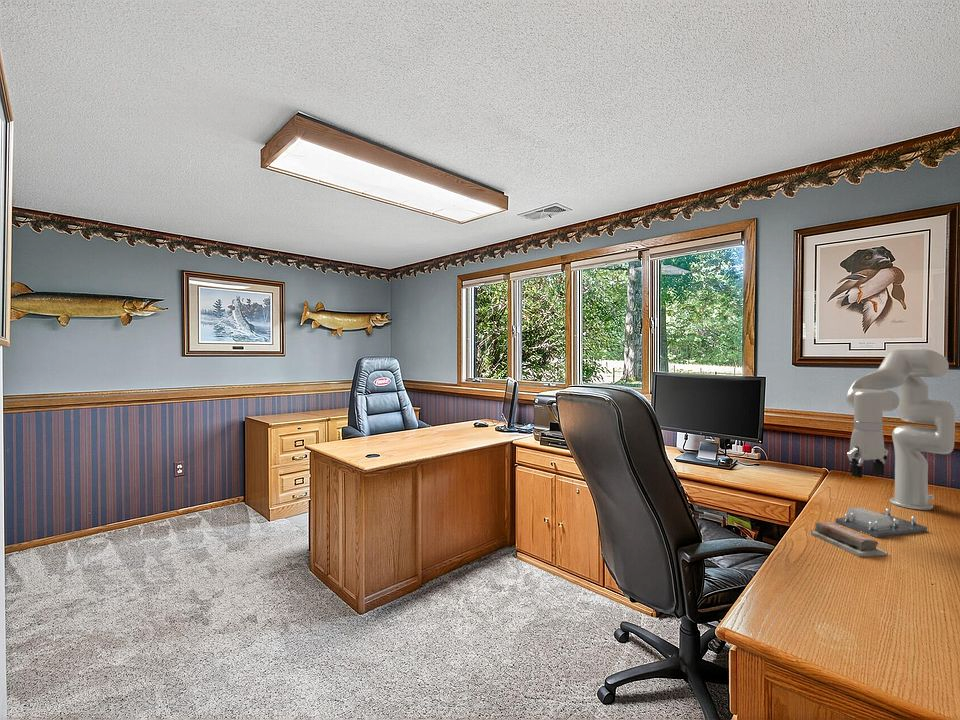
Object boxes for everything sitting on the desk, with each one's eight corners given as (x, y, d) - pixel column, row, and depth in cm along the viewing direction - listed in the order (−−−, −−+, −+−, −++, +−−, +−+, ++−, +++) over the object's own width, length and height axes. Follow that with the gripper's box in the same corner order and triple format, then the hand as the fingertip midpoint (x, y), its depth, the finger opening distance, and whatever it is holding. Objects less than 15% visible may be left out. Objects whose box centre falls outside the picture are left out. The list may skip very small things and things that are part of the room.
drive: (858, 517, 164) (859, 506, 163) (890, 528, 154) (890, 516, 154) (847, 519, 162) (847, 508, 162) (877, 530, 152) (878, 517, 152)
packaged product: (809, 520, 154) (835, 519, 155) (809, 534, 154) (835, 533, 155) (859, 542, 136) (888, 540, 137) (859, 558, 136) (888, 556, 137)
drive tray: (882, 516, 169) (882, 506, 169) (927, 531, 155) (927, 519, 155) (835, 522, 163) (835, 511, 163) (877, 538, 150) (877, 525, 150)
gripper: (875, 423, 164) (875, 471, 164) (837, 426, 160) (837, 474, 160) (898, 427, 156) (898, 476, 157) (860, 429, 152) (859, 480, 153)
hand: (867, 475), depth 158 cm, fingers open, 9 cm apart
